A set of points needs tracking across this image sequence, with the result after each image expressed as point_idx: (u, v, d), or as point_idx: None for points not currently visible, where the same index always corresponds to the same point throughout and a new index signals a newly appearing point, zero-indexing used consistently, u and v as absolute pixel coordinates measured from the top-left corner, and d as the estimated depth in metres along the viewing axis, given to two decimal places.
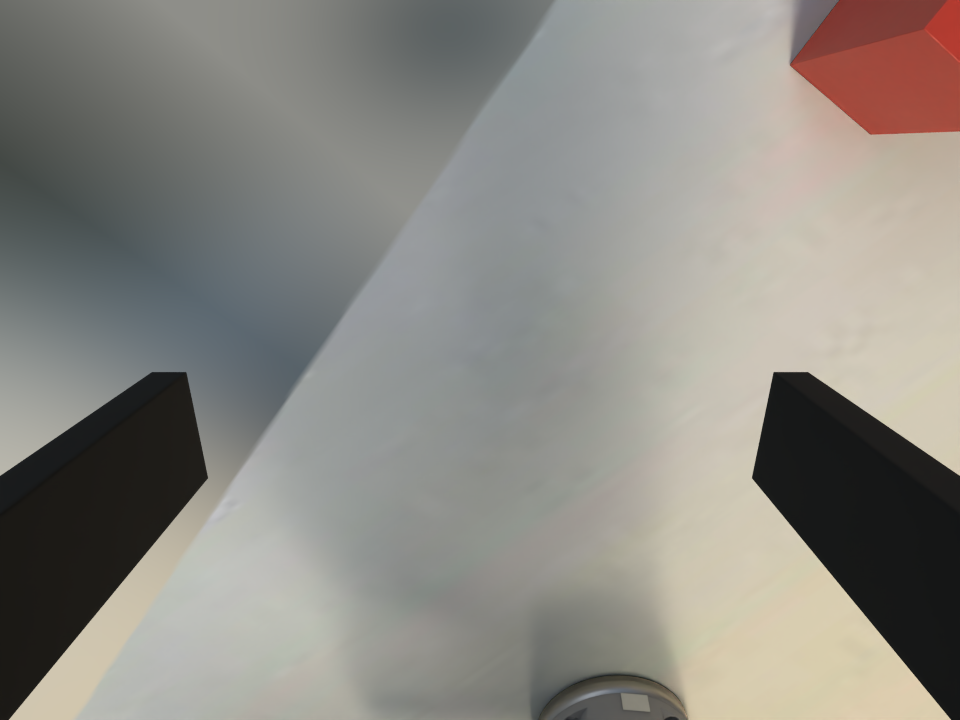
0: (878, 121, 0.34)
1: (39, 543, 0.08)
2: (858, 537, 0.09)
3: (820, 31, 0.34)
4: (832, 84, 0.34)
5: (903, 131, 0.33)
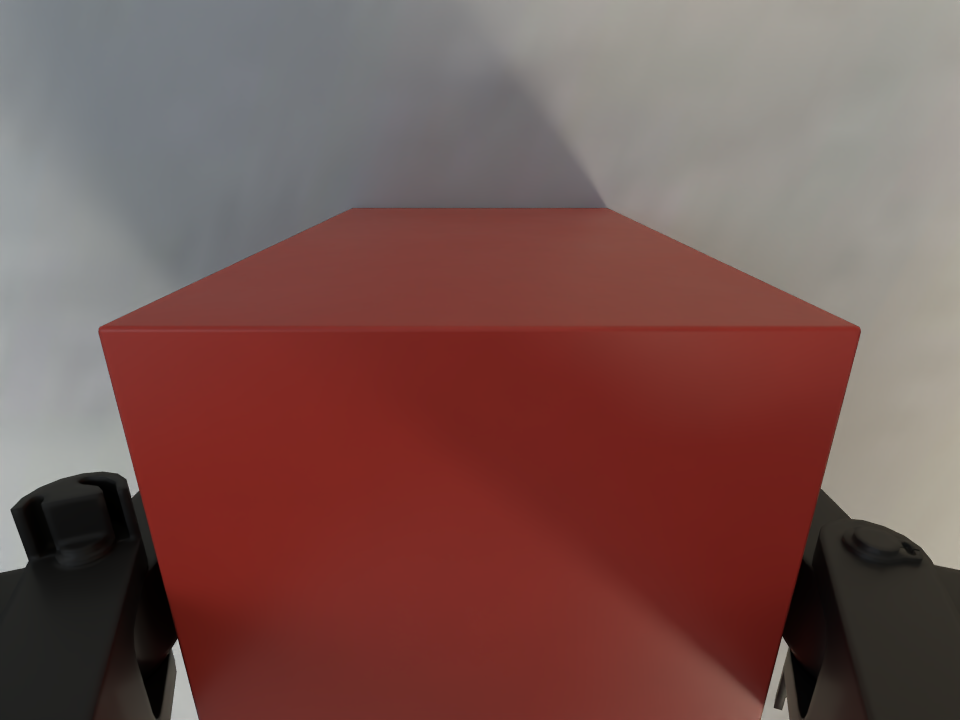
0: None
1: None
2: None
3: None
4: None
5: None
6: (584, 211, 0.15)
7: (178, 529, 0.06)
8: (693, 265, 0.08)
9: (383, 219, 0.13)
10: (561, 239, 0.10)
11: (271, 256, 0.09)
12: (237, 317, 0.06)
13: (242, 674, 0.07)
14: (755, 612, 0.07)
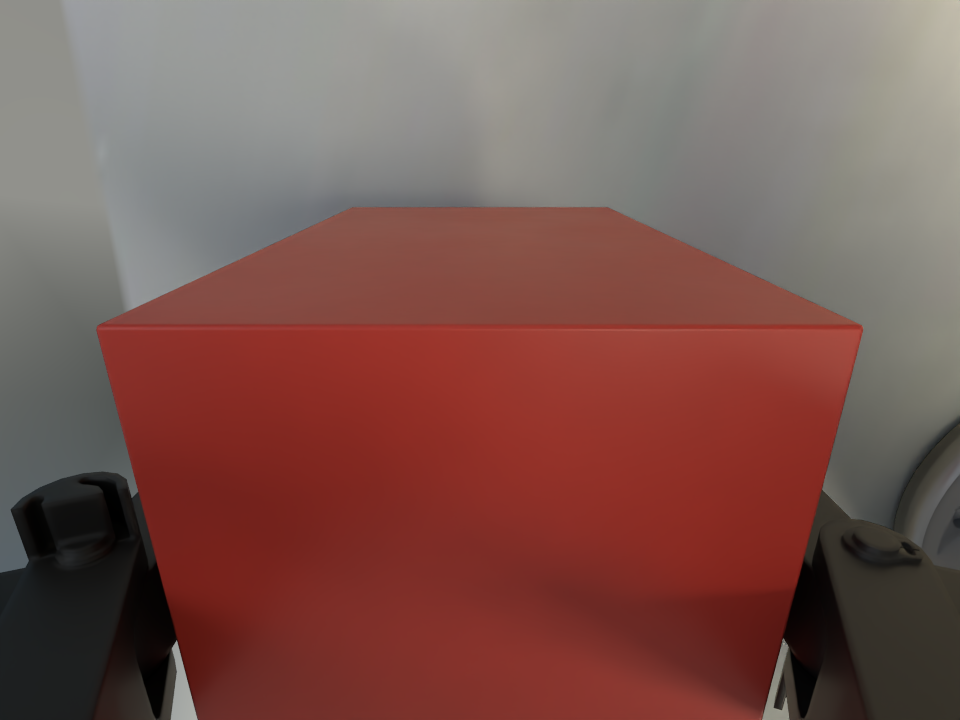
0: None
1: None
2: None
3: None
4: None
5: None
6: (584, 210, 0.15)
7: (177, 528, 0.06)
8: (694, 263, 0.08)
9: (383, 218, 0.13)
10: (561, 238, 0.10)
11: (270, 255, 0.09)
12: (235, 316, 0.06)
13: (241, 675, 0.07)
14: (756, 612, 0.07)
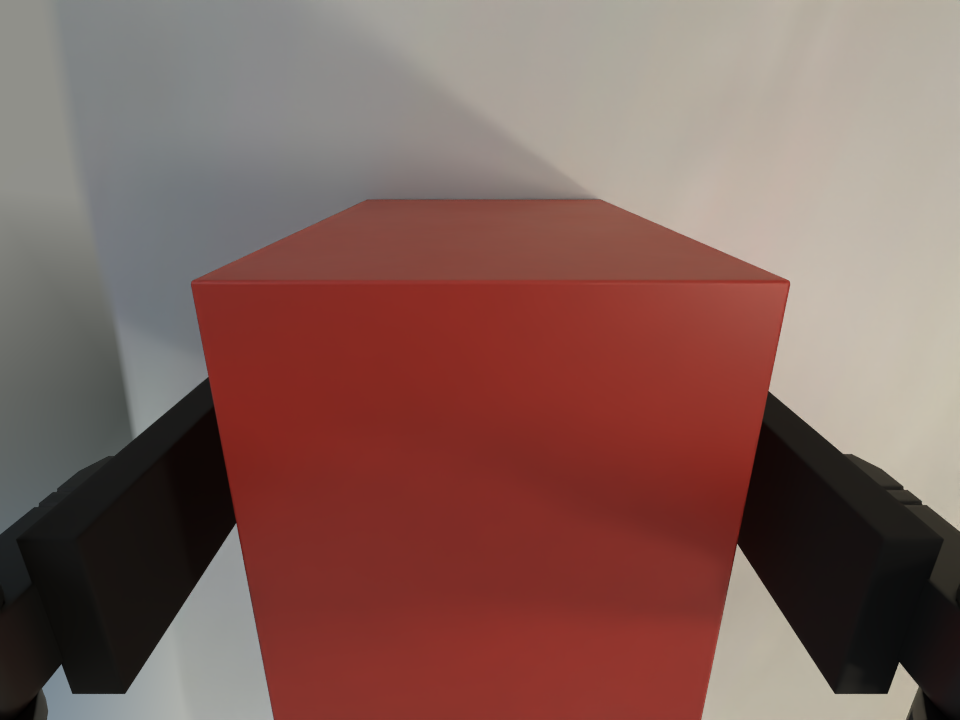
0: None
1: (167, 504, 0.09)
2: (752, 503, 0.10)
3: None
4: None
5: None
6: (579, 202, 0.16)
7: (245, 449, 0.08)
8: (668, 241, 0.10)
9: (397, 208, 0.15)
10: (557, 223, 0.12)
11: (308, 235, 0.10)
12: (297, 275, 0.07)
13: (292, 576, 0.08)
14: (714, 521, 0.08)
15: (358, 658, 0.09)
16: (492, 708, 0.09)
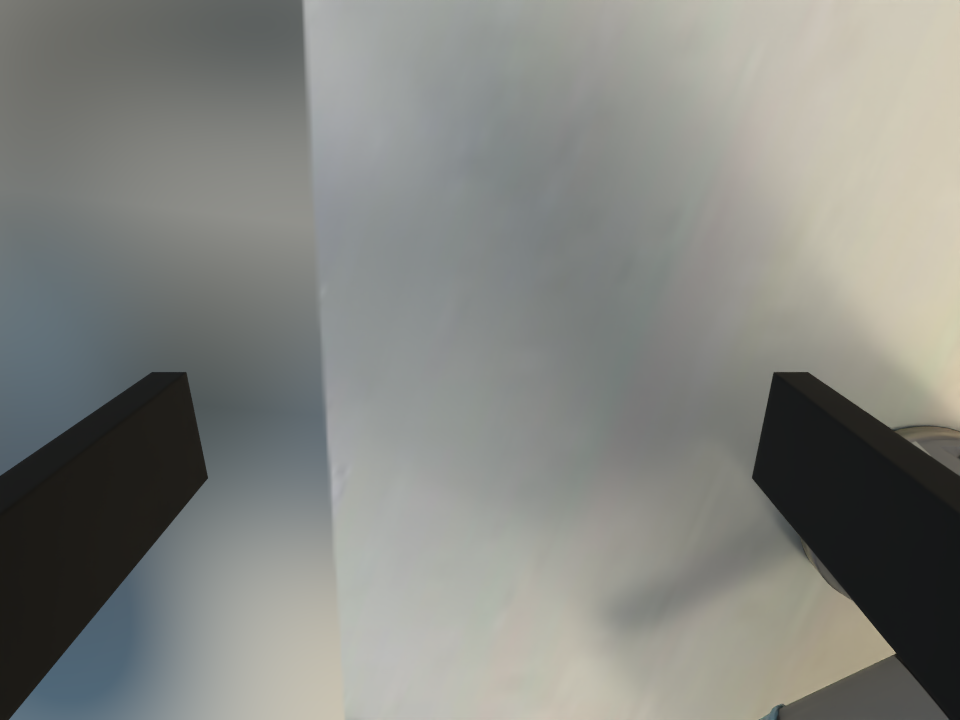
0: None
1: (40, 543, 0.08)
2: (858, 537, 0.09)
3: None
4: None
5: None
6: None
7: None
8: None
9: None
10: None
11: None
12: None
13: None
14: None
15: None
16: None
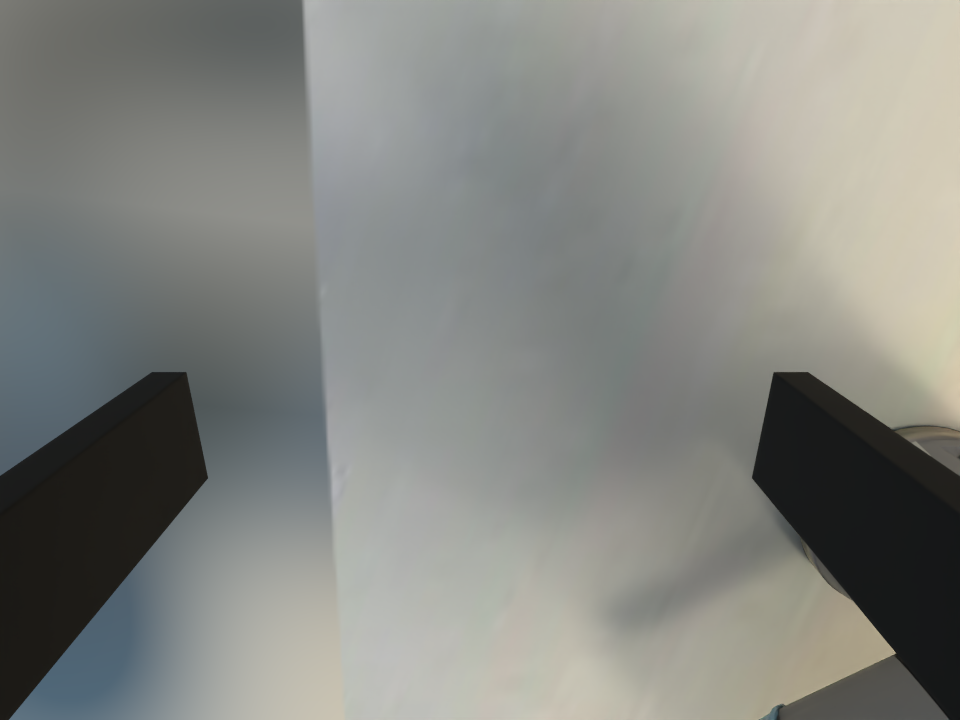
0: None
1: (40, 543, 0.08)
2: (858, 537, 0.09)
3: None
4: None
5: None
6: None
7: None
8: None
9: None
10: None
11: None
12: None
13: None
14: None
15: None
16: None
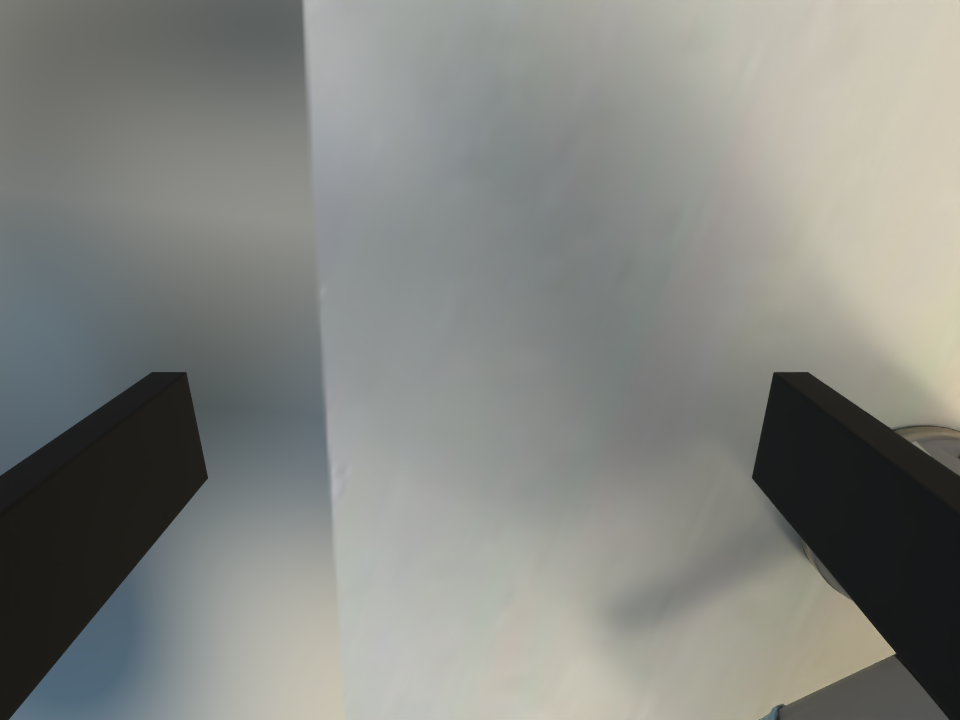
0: None
1: (40, 543, 0.08)
2: (858, 537, 0.09)
3: None
4: None
5: None
6: None
7: None
8: None
9: None
10: None
11: None
12: None
13: None
14: None
15: None
16: None
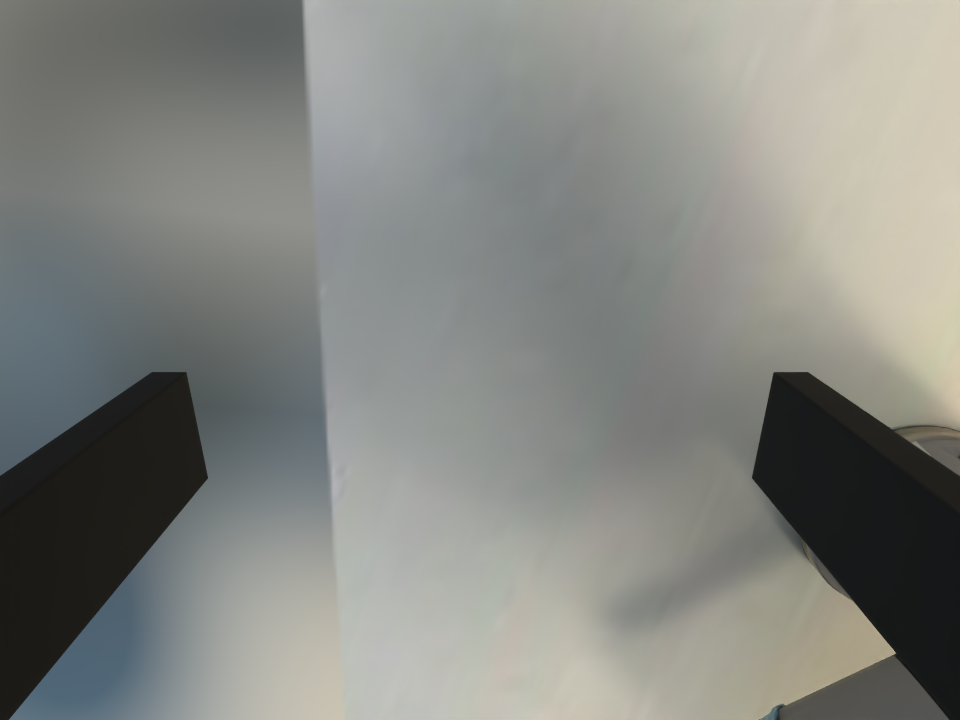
0: None
1: (40, 543, 0.08)
2: (858, 537, 0.09)
3: None
4: None
5: None
6: None
7: None
8: None
9: None
10: None
11: None
12: None
13: None
14: None
15: None
16: None
